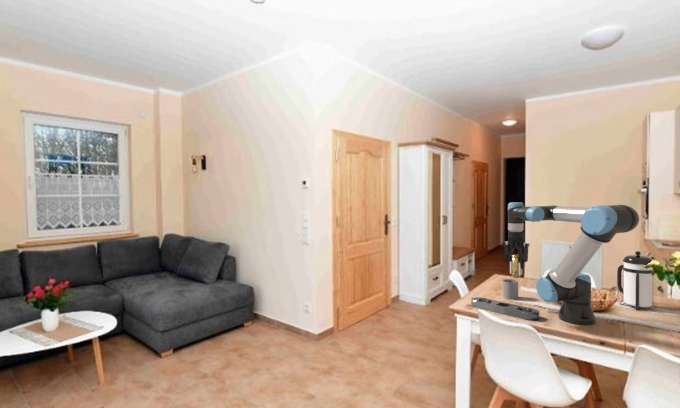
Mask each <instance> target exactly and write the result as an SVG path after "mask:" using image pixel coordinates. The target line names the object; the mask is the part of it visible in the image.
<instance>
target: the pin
mask: <svg viewBox="0 0 680 408" xmlns="http://www.w3.org/2000/svg"><path fill="white" fill-rule="evenodd" d="M511 257H512V274H511V278H512V279H513V278H514V279H520V278H521V275H519V263H520V259H519V254H514V253H513V255H511Z"/></svg>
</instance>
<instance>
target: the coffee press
mask: <svg viewBox="0 0 680 408" xmlns="http://www.w3.org/2000/svg"><path fill="white" fill-rule="evenodd" d="M634 253H635V254H631V255H630V254H628V255H626V256H624V258H623V259H622V263H623V264H620V265H619V266H618V268H617V271H616V272H617V273H616V275H617V276H616V277H617V278H616V286H617V289H618V290H619V292H620V293H622V300H620V302H619V305H621V306H623V305H625V304H626V305H629V306H632V307H635V311H638V310H640V308H651V309H652V310H653V309H657V307H656V305H655V304H654V303H653V300H654V274H653V275H651V274H652V269H651V268H648V269H646V268H644V267H645V266H646V265H647V264H648V263H650V262H651V261H653V259H652V258H650V257H648V256H646V255H641V252H640V251H638V250H637V251H635V252H634ZM622 273H623V282H622ZM622 302H624V303H622ZM652 306H653V307H652Z"/></svg>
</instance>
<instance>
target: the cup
mask: <svg viewBox="0 0 680 408" xmlns="http://www.w3.org/2000/svg"><path fill="white" fill-rule="evenodd" d="M502 297H503V299H505V300H510V301H511V300H512V301H516V299H517V300H519V280H516V279H509V278H507V279H503V280H502Z"/></svg>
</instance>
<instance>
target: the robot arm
mask: <svg viewBox="0 0 680 408" xmlns="http://www.w3.org/2000/svg"><path fill="white" fill-rule="evenodd" d="M541 221H554V222H555V221H556V222H567V223H578V224H579V223H580V227H579V228H580V231H581V233H580V234H579V235H578V237H577V238H576V240H575V241H574V243H573V244H572V245H571V247H570V248H569V249H568V250H567V253H566V254H565V256H564V257H563V258H562V259H561V261H560V263H559V264H558V266H556V268H552V269H550V270H549V272H548V273H547V274H546V276H543V277H540V278H538V279H537V280H536V283H535V290H536V293H537V295H538V296H539V298H541V300H543V301H544V302H546V303H559V302H561V305H560V308H559V310H558V319H559V320H561V321H563V322H566V323H570V324H573V325H583V326H587V325H588V326H589V325H594V324H596V316H595V314H594V309H593V308H592V282H591V281H592V280H591V279H592V278H591V276H590V275H589V274H587V273H584V272H582V271H583V270H584V268H586V266H587V265H588V264H589V262H590V261H591V260H592V258H593V257H594V256H595V255H596V253H597V252H598V251H599V250H600V248H601V247H602V245H603V244H608V243H610V242H611V241H612V239H613V238H614V237H615V235H616V234H625V233H629V232H631V231H633V230H635V229H636V228H637V227H638V225H639V222H640V215H639V213H638V212H637V210H636V209H634V208H633V207H632V206H629V205H626V204H614V205H613V204H611V205H605V204H600V205H599V204H598V205H595V206H591V207H588V206H587V207H585V206H584V207H583V206H561V205H560V206H559V205H543V206H542V205H541V206H524V202H521V201H520V202H519V201H518V202H514V201H512V202H509V203H508V204H507V230H508V231H507V241H502V245H503V252H504V253H503V255H504V256H503V257H504V260H505V261H507V262H508V263H507V264H508V265H507V266H508V268H509V274H511V275H512V257H511V255H514V252H515V249H516V250H517V255H519V259H520V263H519V275H520V276H522V275H523V270H524V268H525V263H527V262H528V261H529V247H530V246H531V245H530V244H531V243H527V242H525V240H524V239H525V238H524V222H531V223H534V222H535V223H536V222H537V223H538V222H541Z"/></svg>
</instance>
